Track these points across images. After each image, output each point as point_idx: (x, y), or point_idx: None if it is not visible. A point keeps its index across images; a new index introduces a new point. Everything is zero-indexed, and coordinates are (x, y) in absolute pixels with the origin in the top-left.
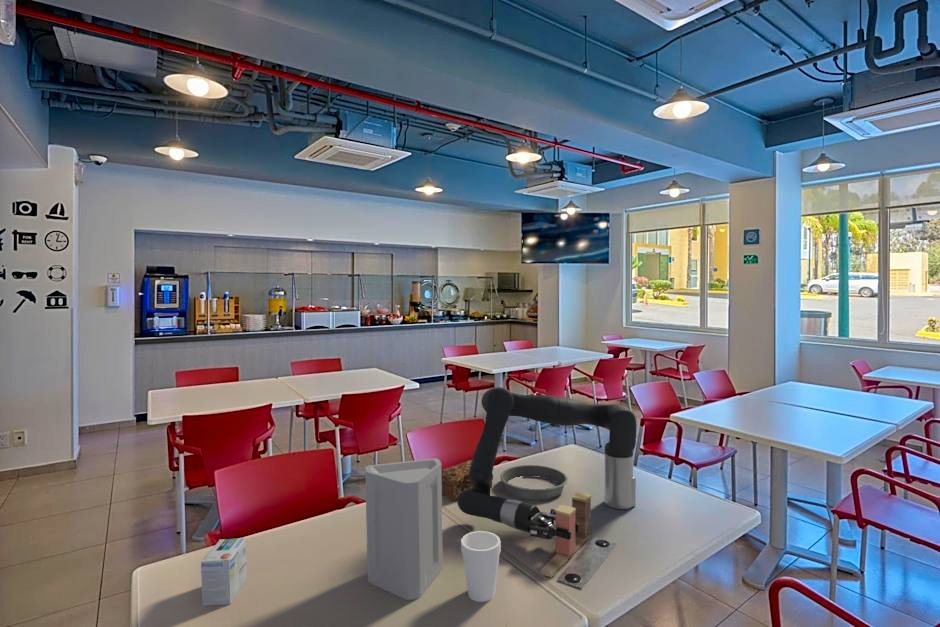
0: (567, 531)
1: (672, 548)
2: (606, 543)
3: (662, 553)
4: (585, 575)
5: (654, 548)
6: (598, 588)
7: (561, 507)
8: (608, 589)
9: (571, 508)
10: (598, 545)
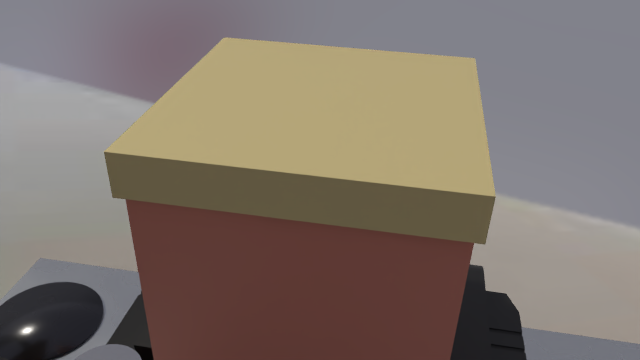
0: (484, 284)
1: (61, 118)
2: (48, 297)
3: (112, 136)
4: (536, 351)
5: (67, 153)
6: (581, 291)
7: (277, 139)
8: (548, 256)
9: (257, 60)
10: (84, 336)
